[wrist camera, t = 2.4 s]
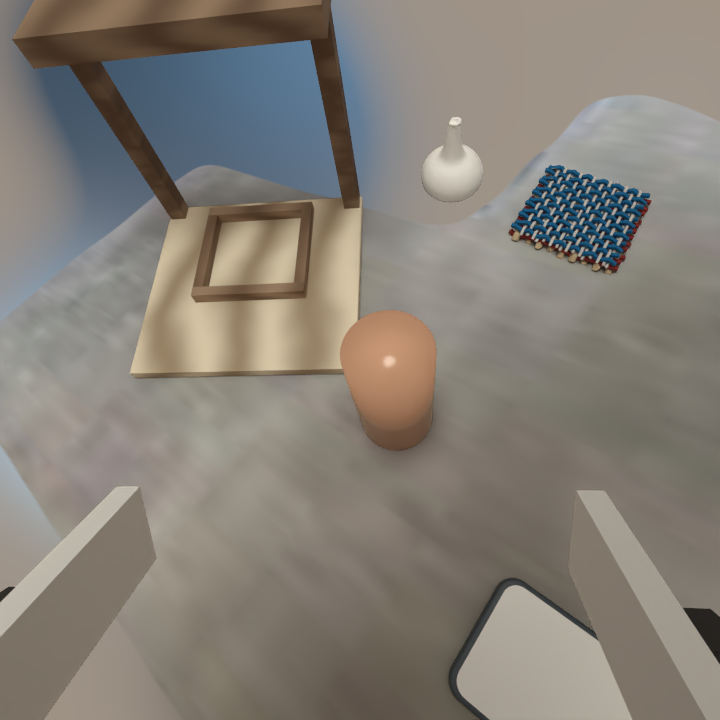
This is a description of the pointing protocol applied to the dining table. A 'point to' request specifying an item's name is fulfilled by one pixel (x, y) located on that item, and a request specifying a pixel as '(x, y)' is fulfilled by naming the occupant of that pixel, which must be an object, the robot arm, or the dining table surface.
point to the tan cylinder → (391, 377)
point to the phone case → (533, 663)
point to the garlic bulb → (452, 168)
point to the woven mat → (581, 217)
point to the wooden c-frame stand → (224, 222)
